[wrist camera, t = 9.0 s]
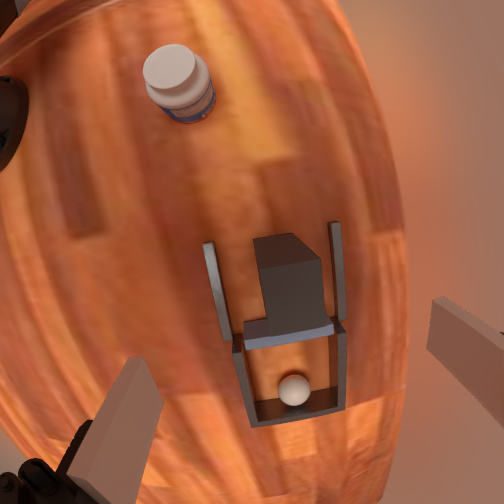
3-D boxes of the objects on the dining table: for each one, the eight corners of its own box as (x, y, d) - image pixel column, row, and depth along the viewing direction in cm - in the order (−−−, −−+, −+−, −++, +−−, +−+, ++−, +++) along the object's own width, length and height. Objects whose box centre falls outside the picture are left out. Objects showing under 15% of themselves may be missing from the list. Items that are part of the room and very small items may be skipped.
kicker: (228, 243, 29) (220, 275, 18) (315, 229, 29) (355, 252, 18) (245, 331, 31) (247, 395, 20) (323, 317, 31) (357, 373, 20)
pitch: (204, 242, 29) (198, 250, 25) (336, 220, 29) (350, 225, 25) (242, 408, 34) (243, 428, 30) (343, 389, 34) (352, 407, 30)
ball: (275, 380, 34) (275, 375, 31) (305, 374, 34) (308, 369, 31) (280, 408, 31) (280, 407, 28) (311, 403, 31) (315, 400, 28)
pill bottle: (161, 88, 25) (129, 50, 15) (209, 72, 25) (196, 26, 15) (172, 132, 26) (139, 107, 17) (222, 116, 26) (212, 82, 16)
